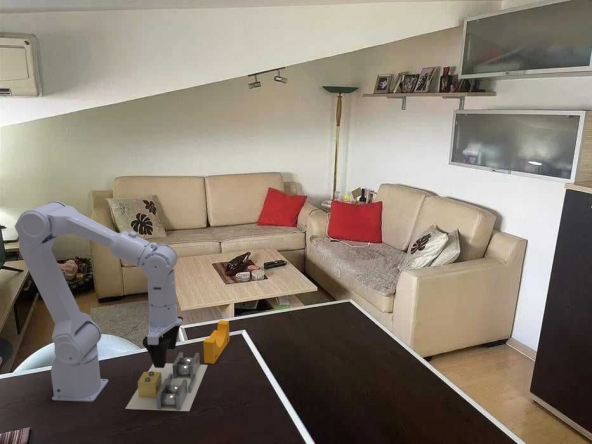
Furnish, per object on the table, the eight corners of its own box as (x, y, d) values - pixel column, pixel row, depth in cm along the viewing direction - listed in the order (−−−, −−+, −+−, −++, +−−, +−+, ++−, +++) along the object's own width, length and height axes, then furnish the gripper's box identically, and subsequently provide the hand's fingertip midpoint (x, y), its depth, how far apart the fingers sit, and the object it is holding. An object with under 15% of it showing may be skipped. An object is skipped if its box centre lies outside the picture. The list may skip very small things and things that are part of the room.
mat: (125, 409, 98) (125, 408, 98) (153, 364, 116) (153, 362, 116) (189, 412, 98) (189, 411, 98) (207, 365, 115) (207, 364, 115)
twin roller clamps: (154, 408, 98) (153, 394, 98) (177, 364, 115) (176, 352, 115) (183, 410, 98) (182, 396, 97) (202, 365, 115) (201, 352, 114)
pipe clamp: (214, 340, 128) (214, 319, 127) (229, 342, 128) (228, 321, 126) (197, 363, 117) (196, 340, 115) (213, 365, 116) (213, 342, 114)
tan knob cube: (138, 397, 102) (137, 380, 101) (145, 386, 106) (144, 370, 105) (156, 398, 102) (155, 381, 101) (162, 387, 106) (161, 371, 105)
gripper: (170, 317, 91) (173, 377, 95) (189, 289, 105) (191, 341, 109) (135, 316, 91) (139, 375, 95) (159, 287, 105) (162, 340, 109)
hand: (165, 357), depth 102 cm, fingers open, 7 cm apart
